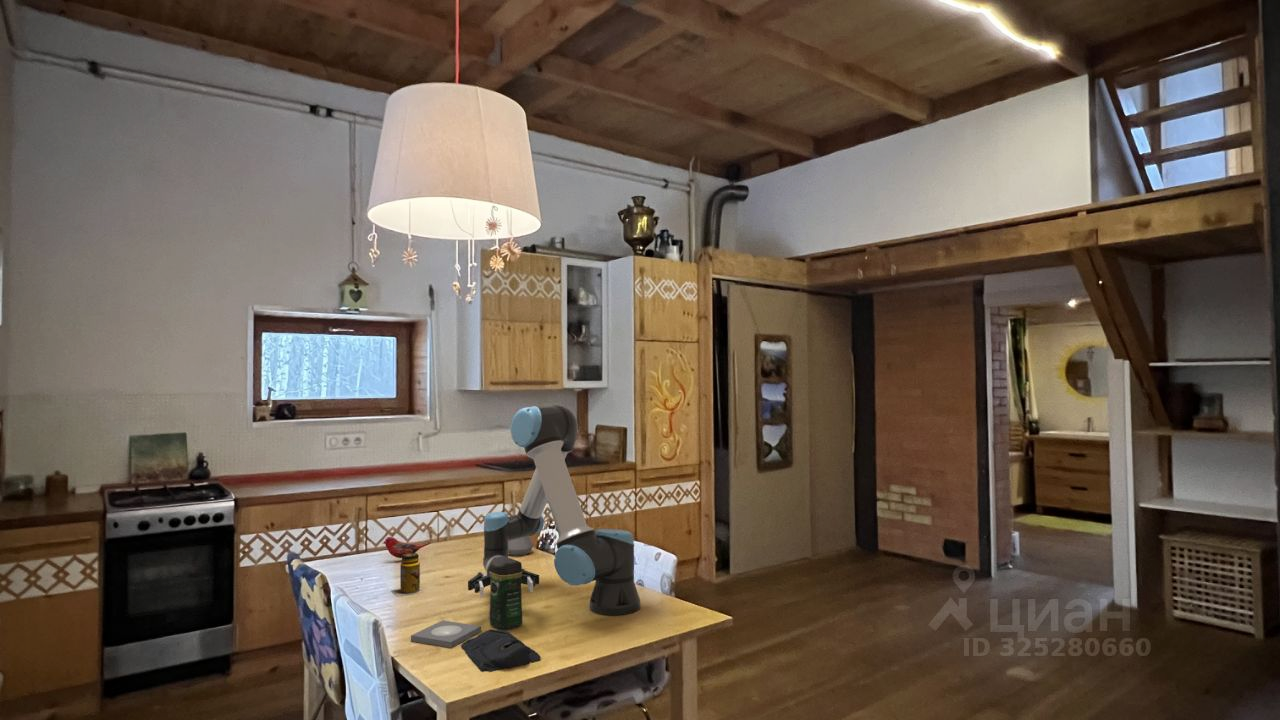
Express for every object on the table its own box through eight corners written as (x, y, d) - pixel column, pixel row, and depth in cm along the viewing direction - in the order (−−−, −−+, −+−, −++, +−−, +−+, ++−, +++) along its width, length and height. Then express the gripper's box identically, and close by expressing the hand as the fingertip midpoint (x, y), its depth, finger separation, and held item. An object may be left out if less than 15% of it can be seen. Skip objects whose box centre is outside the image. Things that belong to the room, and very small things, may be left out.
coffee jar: (526, 626, 204) (526, 559, 204) (500, 632, 199) (500, 563, 200) (510, 617, 212) (510, 552, 212) (485, 623, 207) (485, 556, 207)
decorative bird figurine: (382, 563, 275) (382, 536, 275) (430, 558, 282) (430, 532, 283) (382, 565, 272) (382, 538, 273) (431, 559, 280) (431, 533, 280)
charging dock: (481, 631, 200) (481, 626, 200) (451, 647, 188) (451, 641, 188) (442, 625, 205) (442, 620, 205) (410, 641, 193) (410, 635, 193)
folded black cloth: (513, 636, 197) (513, 618, 197) (544, 664, 178) (544, 644, 178) (456, 647, 190) (456, 628, 190) (482, 676, 171) (483, 656, 171)
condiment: (423, 592, 237) (423, 555, 238) (397, 596, 233) (397, 558, 233) (416, 587, 244) (416, 550, 244) (390, 591, 239) (390, 554, 239)
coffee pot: (498, 553, 289) (497, 515, 290) (523, 548, 297) (523, 511, 297) (526, 563, 273) (526, 523, 273) (552, 558, 280) (552, 519, 281)
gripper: (540, 579, 226) (552, 599, 206) (457, 586, 219) (460, 608, 199) (540, 555, 227) (551, 572, 206) (457, 561, 219) (460, 580, 199)
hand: (507, 589), depth 203 cm, fingers open, 13 cm apart
